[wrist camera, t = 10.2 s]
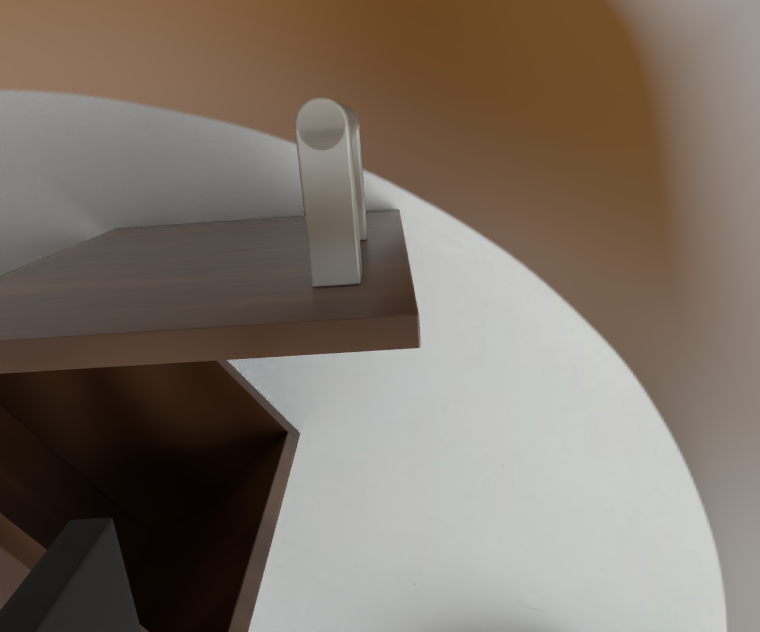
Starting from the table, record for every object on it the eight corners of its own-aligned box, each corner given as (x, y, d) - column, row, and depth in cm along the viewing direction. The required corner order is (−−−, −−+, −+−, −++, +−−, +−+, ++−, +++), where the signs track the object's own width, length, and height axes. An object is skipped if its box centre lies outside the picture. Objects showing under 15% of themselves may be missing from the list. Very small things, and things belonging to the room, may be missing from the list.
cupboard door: (94, 126, 33) (-282, 135, 14) (393, 105, 33) (407, 84, 14) (119, 244, 35) (-179, 385, 16) (400, 226, 35) (420, 348, 16)
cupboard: (110, 244, 35) (-205, 387, 16) (300, 433, 39) (225, 723, 20) (-32, 380, 38) (-439, 635, 19) (159, 543, 42) (-22, 885, 23)
